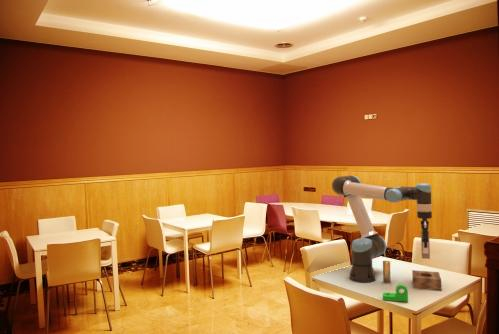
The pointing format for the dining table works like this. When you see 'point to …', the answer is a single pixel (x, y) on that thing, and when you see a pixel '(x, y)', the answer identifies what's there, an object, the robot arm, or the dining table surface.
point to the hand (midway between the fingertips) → (425, 252)
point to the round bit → (386, 272)
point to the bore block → (426, 280)
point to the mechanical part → (397, 294)
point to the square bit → (424, 255)
